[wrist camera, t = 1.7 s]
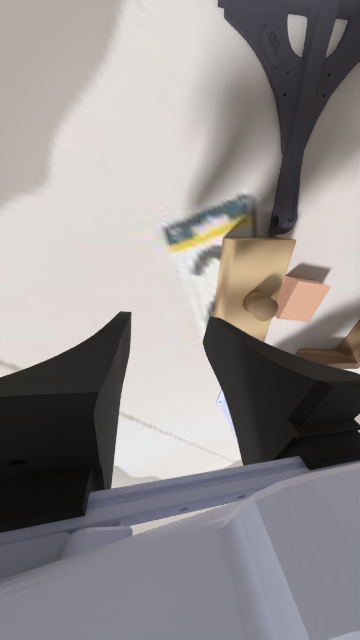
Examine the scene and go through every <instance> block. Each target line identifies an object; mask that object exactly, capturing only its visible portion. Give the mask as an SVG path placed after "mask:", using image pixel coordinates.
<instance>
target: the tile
mask: <svg viewBox="0 0 360 640" xmlns="http://www.w3.org/2000/svg"><path fill="white" fill-rule="evenodd" d="M330 287H331V286H329V285H326V284H323V283H320V282H317V281H313V280H308V279H302V278H296V277H290V276H285V278H284V281H283V284H282V287H281V291H280V294H279V297H278V300H277V303H278V311H277V313H276V314H275V317H277V318H278V319H285V320H296V321H307V322H309V321H310V320H311V318H312V316H313V315H314V313H315V312H316V310H317V308H318V307H319V305H320V303H321V302H322V300H323V299H324V297H325V295H326V294H327V292H328V291H329V289H330Z"/></svg>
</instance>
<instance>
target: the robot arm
mask: <svg viewBox="0 0 360 640" xmlns="http://www.w3.org/2000/svg"><path fill="white" fill-rule="evenodd" d="M130 341H131V312H122V311H120V312H119V313H118V314H117V315H116V316H115V317H114V318H113V319H112V320H111V321H110V322H109V323H108V324H106V325H105V326H104V327H103V328H102V329H101V330H99V331H98V332H97V333H95V334H94V335H93V336H91V337H90V338H88V339H87V340H85V341H84V342H82V343H80V344H79V345H77V346H75V347H73V348H71V349H69V350H67V351H65V352H63V353H61V354H59V355H57V356H55V357H53V358H51V359H48V360H46V361H44V362H41V363H39V364H36V365H34V366H31V367H29V368H26V369H24V370H21V371H18V372H15V373H12V374H9V375H6V376H3V377H0V640H360V433H359V432H358V431H357V430H360V425H359V424H358V423H357V422H356V421H355V420H354V418H355V417H356V416H358V415H359V414H360V374H357V373H355V372H351V371H347V370H343V369H339V368H335V367H331V366H327V365H323V364H320V363H317V362H314V361H310V360H307V359H304V358H301V357H298V356H296V355H293V354H290V353H288V352H285V351H282V350H280V349H278V348H275V347H273V346H271V345H269V344H267V343H264V342H262V341H260V340H259V339H257V338H255V337H253V336H251V335H249V334H247V333H246V332H244V331H242V330H241V329H239V328H237V327H235V326H234V325H232V324H230V323H229V322H227V321H225V320H223V319H221V318H219V317H210V318H209V321H208V325H207V328H206V332H205V336H204V339H203V345H204V349H205V352H206V355H207V358H208V360H209V362H210V364H211V366H212V369H213V371H214V373H215V375H216V377H217V379H218V382H219V384H220V386H221V389H222V390H221V392H220V395H219V397H218V400H217V402H216V406H218V407H219V406H221V407H222V409H223V412H224V414H225V416H226V419H227V421H228V424H229V426H230V428H231V431H232V433H233V436H234V438H235V440H236V441H237V443H238V445H239V449H240V453H241V458H242V462H243V466H239V467H234V468H228V469H222V470H216V471H211V472H205V473H199V474H193V475H188V476H182V477H176V478H170V479H165V480H159V481H153V482H147V483H142V484H136V485H131V486H125V487H119V488H113V489H111V483H112V474H113V464H114V454H115V444H116V435H117V425H118V416H119V407H120V399H121V392H122V386H123V381H124V377H125V372H126V368H127V363H128V358H129V352H130ZM232 502H234V503H232ZM228 503H231V504H228ZM224 504H228V505H225V506H221V507H218V508H215V509H212V510H209V511H206V512H203V513H200V514H197V515H194V516H191V517H188V518H185V519H182V520H179V521H176V522H173V523H170V524H167V525H164V526H161V527H158V528H155V529H152V530H149V531H146V532H143V533H140V534H137V535H134V536H132V529H131V527H130V526H131V525H136V524H140V523H144V522H149V521H153V520H158V519H162V518H166V517H171V516H175V515H180V514H184V513H189V512H193V511H197V510H201V509H206V508H210V507H215V506H219V505H224Z"/></svg>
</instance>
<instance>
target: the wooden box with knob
mask: <svg viewBox="0 0 360 640" xmlns="http://www.w3.org/2000/svg"><path fill="white" fill-rule="evenodd" d="M295 243H296V240H293V239H284V238H276V237H258V238H223V242H222V250H221V258H220V266H219V275H218V283H217V291H216V300H215V308H214V316H213V317H219V318H221V319H223V320H225V321H227V322H229V323H230V324H232V325H234V326H235V327H237V328H239V329H241V330H242V331H244V332H246V333H247V334H249V335H251V336H253V337H255V338H257V339H259V340H260V341H262V342H264V341H265V338H266V335H267V331H268V328H269V325H270V322H271V319H272V318H273V317H274V316H275V314H276V313H277V311H278V303H277V300H278V297H279V294H280V291H281V287H282V284H283V281H284V278H285V275H286V272H287V268H288V265H289V262H290V259H291V256H292V253H293V250H294V246H295Z"/></svg>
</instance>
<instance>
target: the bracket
mask: <svg viewBox="0 0 360 640" xmlns="http://www.w3.org/2000/svg"><path fill="white" fill-rule="evenodd" d="M218 7H221V8H224V17H225V19H226V20H227V21H228V22H229V23H230V24H231V25H232V26H233V27H234V28H235V29H236V30H237V31H238V32H239V33H240V34H241V35H242V37H243V38H244V39H245V40H246V41H247V42H248V44H249V45H250V46H251V48H252V49H253V51H254V52H255V54H256V55H257V57H258V59H259V60H260V62H261V64H262V66H263V68H264V70H265V72H266V74H267V77H268V79H269V81H270V84H271V86H272V89H273V91H274V94H275V97H276V102H277V107H278V113H279V119H280V127H281V147H282V154H283V159H282V165H281V170H280V175H279V180H278V186H277V191H276V196H275V202H274V207H273V212H272V217H271V223H270V228H269V233H270V234H271V235H276V234H285V233H287V232H289V231H290V230H291V229H292V228H293V226H294V225H295V223H296V221H297V206H298V194H299V183H300V173H301V165H302V159H303V153H304V149H305V147H306V144H307V142H308V139H309V137H310V134H311V132H312V130H313V128H314V125H315V123H316V121H317V119H318V117H319V115H320V114H321V112H322V110H323V108H324V106H325V105H326V103H327V101H328V99H329V98H330V96H331V94H332V93H333V92H334V90H335V89H336V88H337V87H338V85H339V84H340V83H341V81H342V80H343V79H344V78H345V77H346V75H347V74H348V73H349V72H350V71H351V70H352V68H353V67H354V66H355V65H356V64H357V63H358V62H359V61H360V0H218ZM287 14H293V15H301V16H305V17H307V30H306V37H305V43H304V49H303V54H302V58H300V57H298V56H297V55H296V54H295V53H294V52H293V50H292V48H291V46H290V43H289V40H288V34H287ZM336 19H344V20H348V23H347V26H346V29H345V32H344V34H343V37H342V39H341V41H340V43H339V45H338V47H337V48H336V50H335V51H334V52H333V54H332V55H330V56H329V57H327V58H325V55H326V51H327V48H328V44H329V41H330V37H331V34H332V30H333V27H334V23H335V20H336ZM324 58H325V59H324ZM277 217H279V218H278V221H277V226H276V219H277Z"/></svg>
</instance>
